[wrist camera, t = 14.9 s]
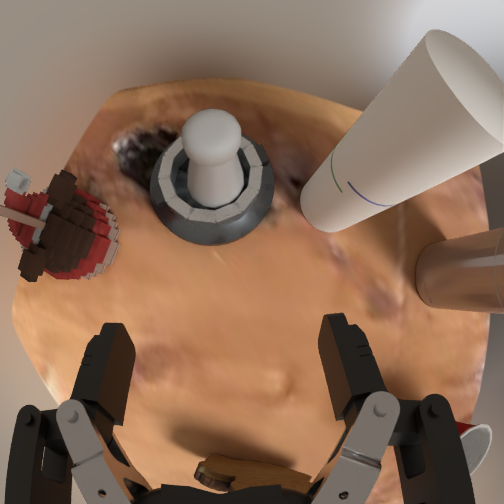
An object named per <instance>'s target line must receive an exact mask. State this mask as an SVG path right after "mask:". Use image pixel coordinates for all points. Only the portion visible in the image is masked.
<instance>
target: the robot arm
mask: <svg viewBox="0 0 504 504" xmlns="http://www.w3.org/2000/svg"><path fill="white" fill-rule="evenodd" d="M415 278H416V286H417V290H418V293H419V295H420V297H421V298H422V300H423V301H424V302H425V303H426V304H427V305H428V306H430V307H433V308H440V309H451V310H461V311H473V312H486V313H501V314H504V227H503V228H499V229H495V230H490V231H486V232H482V233H477V234H473V235H468V236H464V237H459V238H455V239H450V240H445V241H441V242H436V243H432V244H430V245H428V246H427V247H426V248H425V249H424V250H423V251H422V253H421V254H420V256H419V259H418V261H417V265H416V273H415ZM318 349H319V354H320V358H321V362H322V365H323V369H324V373H325V377H326V381H327V385H328V389H329V393H330V398H331V402H332V406H333V410H334V414H335V419H336V421H338V420H343V419H344V421H345V425H346V427H345V429H344V431H343V433H342V435H341V437H340V439H339V441H338V442H337V444H336V446H335V448H334V450H333V451H332V453H331V455H330V457H329V458H328V460H327V462H326V463H325V465H324V467H323V468H322V469H321V471H320V472H319V473H318V475H317V476H316V478H315V479H314V481H313V482H312V484H311V486H310V487H309V489H308V490H307V492H306V493H302V492H300V491H297V490H294V489H289V488H283V487H281V484H278V485H267V486H253V487H248V488H244V489H240V490H236V491H232V492H228V493H224V494H216V493H212V492H208V491H204V490H200V489H197V488H193V487H190V486H178V485H167V484H161V488H157V489H152V488H151V486H150V485H149V484H148V482H147V481H146V479H145V478H144V477H143V476H142V475H141V474H140V473H139V472H138V471H137V470H136V469H135V467H134V466H133V465H132V463H131V461H130V460H129V458H128V456H127V455H126V453H125V451H124V450H123V448H122V446H121V445H120V443H119V441H118V439H117V438H116V436H115V434H114V432H113V426H114V425H120V426H123V421H124V415H125V409H126V403H127V398H128V392H129V387H130V382H131V377H132V372H133V367H134V362H135V357H136V352H135V347H134V344H133V342H132V340H131V338H130V336H129V334H128V332H127V330H126V328H125V326H124V325H123V324H122V323H104V325H103V326H102V329H101V332H100V335H94V337H93V338H92V339H91V340H90V342H89V343H88V344H87V347H86V350H85V353H84V357H83V359H82V362H81V365H80V368H79V371H78V375H77V378H76V381H75V385H74V388H73V391H72V395H71V397H70V399H69V400H66V401H64V402H63V403H62V404H61V405H60V406H59V408H58V409H53V410H45V411H40V410H39V409H37V408H36V407H35V406H33V405H26V406H24V407H23V408H21V410H20V411H19V413H18V415H17V419H16V424H15V428H14V433H13V438H12V443H11V449H10V455H9V462H8V469H7V478H6V489H5V504H71V490H72V475H73V477H74V479H75V481H76V483H77V485H78V487H79V489H80V491H81V493H82V495H83V497H84V499H85V501H86V502H87V504H364V503H365V502H366V500H367V498H368V496H369V494H370V492H371V490H372V488H373V486H374V484H375V482H376V480H377V478H378V476H379V474H380V471H381V459H382V457H383V454H384V452H385V450H386V447H387V446H394V451H395V456H396V461H397V466H398V471H399V477H400V482H401V488H402V494H403V500H404V504H475V498H474V493H473V487H472V482H471V478H470V473H469V469H468V464H467V460H466V456H465V453H464V449H463V445H462V442H461V438H460V435H459V432H458V428H457V425H456V422H455V419H454V416H453V413H452V410H451V407H450V404H449V402H448V401H447V399H446V398H445V397H443V396H442V395H439V394H431V395H428V396H427V397H425V398H424V399H423V400H422V401H416V400H401V399H398V398H396V397H395V396H394V395H392V394H390V393H389V392H388V391H387V389H386V387H385V385H384V382H383V379H382V377H381V374H380V371H379V368H378V366H377V363H376V361H375V358H374V355H373V353H372V350H371V348H370V347H369V343H368V340H367V338H366V335H365V333H364V332H363V331H362V330H361V329H360V328H359V327H358V326H357V325H356V324H354V325H348V322H347V319H346V317H345V315H344V313H335V314H326V315H324V316H323V320H322V324H321V329H320V333H319V337H318ZM44 447H45V452H44ZM43 452H44V458H43ZM42 459H43V466H42ZM73 463H74V466H73Z"/></svg>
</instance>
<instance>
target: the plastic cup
mask: <svg viewBox="0 0 504 504" xmlns="http://www.w3.org/2000/svg"><path fill="white" fill-rule="evenodd" d="M455 422H456V425H457V428H458V432H459V435H460V438H461V442H462V445H463V449H464V453H465V456H466V460H467V464H468V469H469V473H470V475H471V474H472V473H473V472H474V471H475V470H476V469H477V468H478V467H479V465H480V463H481V462H482V460H483V459H484V457H485V456H486V454H487V452H488V449H489V447H490V444H491V441H492V430H491V429H490V427H489V425H483V424H478V425H471V424H465V423H461V422H457V421H455Z"/></svg>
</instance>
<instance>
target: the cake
mask: <svg viewBox="0 0 504 504" xmlns="http://www.w3.org/2000/svg"><path fill="white" fill-rule="evenodd" d="M29 179H30V176H29V175H27V174H25V173H24V172H21V171H19V170H18V169H15V168H14V169H13V171H9V174H8V176H7V178H6V180H5V182H7V184H6V187H7V190H6V192H5V196H6V199H5V201H4V204H5V206H2V205H0V216H3V217H6V218H8V221H7V222H9V225H8V226H9V227H10V229H9V230H10V231H11V232H13V234H12V235H14V236H15V237H16V240H17V241H19V242H20V243H21V245H22V246H21V248H23V250H22V251H23V254H22V257H21V260H20V263H19V266H18V269H19V270H20V271H21V274H20V276H21V277H23V278H24V279H25V280H27V281H28V282H36V281H37V278H38V276H42V274H43V271H45V272H46V273H48V274H50V275H51V276H53V277H54V278H56V279H66V280H69V279H77V280H80V279H81V276H83V277H84V278H86V279H88V280H90V279H91V276H94V277H97V274H98V273H100V274H103V273H104V270H105V267H106V265H107V264H108V265H111V266H112V263H113V261H114V258H115V256H116V253H117V251H118V249H119V246H120V244H119V243H117V242H116V240H117V238H118V235H119V233H120V231H119V230H117V229H116V227H117V225H118V223H116V222H114V220H115V217H116V216H115V215H113V214H110V213H108V210H109V207H108V206H107V205H104V204H102V203H100V202H101V201H99V200H98V199H97V198H95V197H94V196H92V195H91V194H88V193H86V192H84V191H82V190H79V189H77V186H76V185H74V184H75V182H76V180H77V178H76V177H75V176H74V175H72V174H71V173H69V172H66V171H64V170H61V172H60V174H59V175H57V174H55V175H54V177H53V179H52V181H51V183H50V185H49V187H47V189H46V190H43V192H40V194H37V193H35V192H33V195H31V194H28V195H27V197H26V196H25V194H26V192H27V190H28V187H29V185H30V183H31V181H29Z"/></svg>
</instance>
